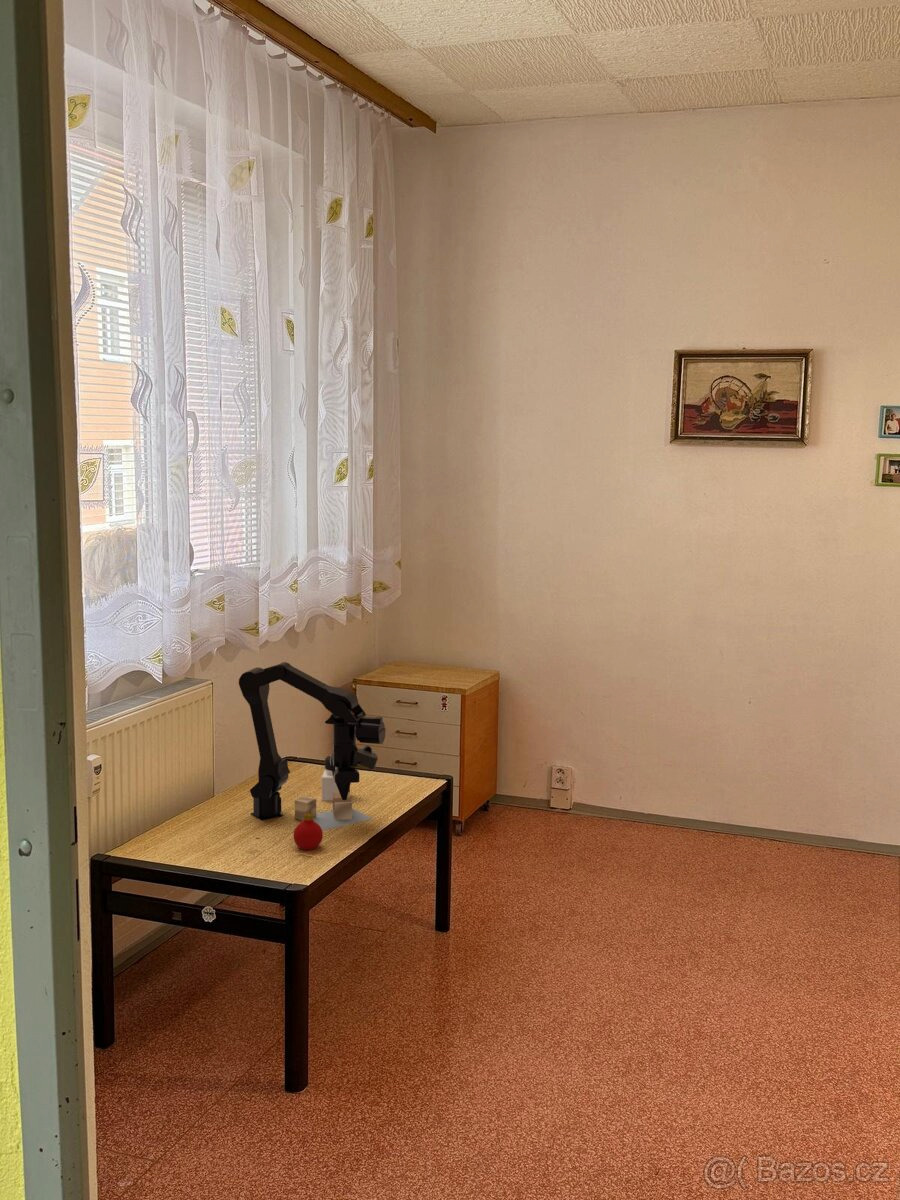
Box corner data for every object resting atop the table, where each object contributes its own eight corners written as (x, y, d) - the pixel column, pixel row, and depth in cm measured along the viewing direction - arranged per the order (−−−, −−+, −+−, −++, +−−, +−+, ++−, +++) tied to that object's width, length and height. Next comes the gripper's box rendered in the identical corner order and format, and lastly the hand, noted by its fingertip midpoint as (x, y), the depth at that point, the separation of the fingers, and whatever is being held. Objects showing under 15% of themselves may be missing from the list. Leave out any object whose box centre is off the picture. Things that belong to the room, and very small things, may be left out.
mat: (321, 832, 289) (321, 830, 289) (297, 819, 298) (297, 818, 298) (373, 820, 299) (373, 818, 299) (347, 808, 308) (348, 806, 308)
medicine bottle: (347, 802, 313) (347, 760, 311) (321, 802, 313) (321, 759, 311) (350, 794, 320) (350, 753, 318) (324, 794, 320) (324, 752, 318)
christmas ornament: (308, 856, 272) (308, 816, 271) (287, 850, 276) (287, 810, 275) (328, 848, 278) (328, 809, 276) (307, 842, 282) (307, 803, 281)
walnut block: (351, 802, 297) (349, 792, 306) (334, 803, 297) (332, 792, 305) (351, 819, 298) (349, 808, 307) (334, 819, 297) (332, 808, 306)
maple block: (306, 821, 296) (306, 802, 295) (294, 818, 298) (294, 800, 297) (316, 817, 299) (316, 798, 298) (304, 814, 301) (304, 796, 300)
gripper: (379, 749, 284) (379, 809, 287) (372, 730, 303) (371, 787, 305) (334, 751, 282) (335, 811, 285) (329, 732, 301) (330, 789, 303)
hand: (344, 799), depth 294 cm, fingers closed
